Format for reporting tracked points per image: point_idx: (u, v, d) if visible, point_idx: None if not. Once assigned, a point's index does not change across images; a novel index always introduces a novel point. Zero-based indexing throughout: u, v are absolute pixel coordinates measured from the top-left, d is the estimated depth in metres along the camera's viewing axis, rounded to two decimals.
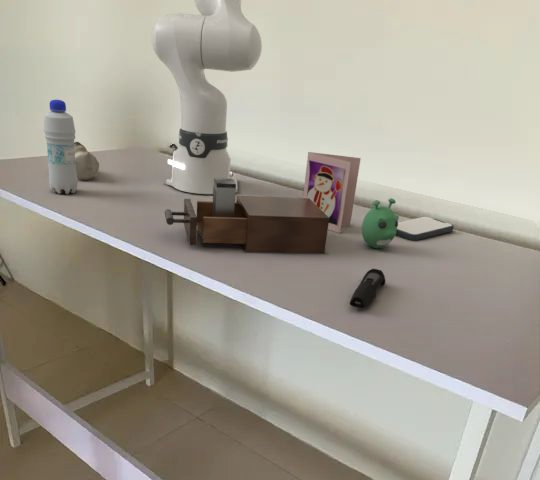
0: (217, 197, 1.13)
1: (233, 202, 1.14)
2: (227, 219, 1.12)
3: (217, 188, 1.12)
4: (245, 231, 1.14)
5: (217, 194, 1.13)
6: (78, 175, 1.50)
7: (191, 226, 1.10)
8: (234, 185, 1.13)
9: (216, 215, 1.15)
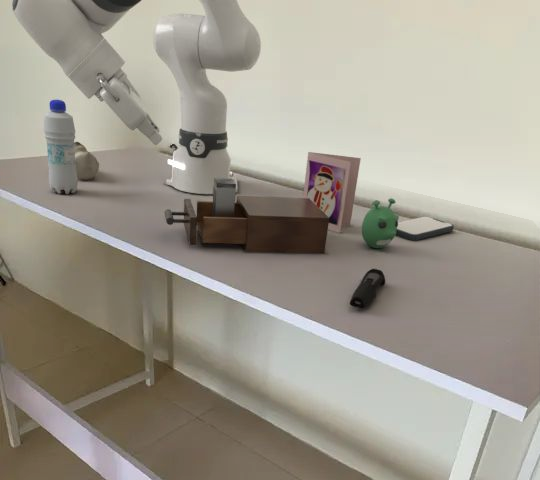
0: (217, 197, 1.13)
1: (233, 202, 1.14)
2: (227, 219, 1.12)
3: (217, 188, 1.12)
4: (245, 231, 1.14)
5: (217, 194, 1.13)
6: (78, 175, 1.50)
7: (191, 226, 1.10)
8: (234, 185, 1.13)
9: (216, 215, 1.15)
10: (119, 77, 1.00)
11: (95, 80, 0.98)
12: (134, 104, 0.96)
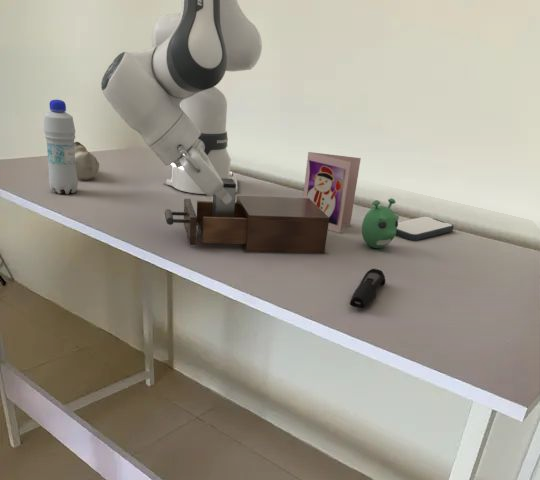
0: (217, 197, 1.13)
1: (233, 202, 1.14)
2: (227, 219, 1.12)
3: None
4: (245, 231, 1.14)
5: None
6: (78, 175, 1.50)
7: (191, 226, 1.10)
8: (234, 185, 1.13)
9: (216, 215, 1.15)
10: (196, 146, 1.08)
11: (175, 151, 1.06)
12: (213, 174, 1.04)
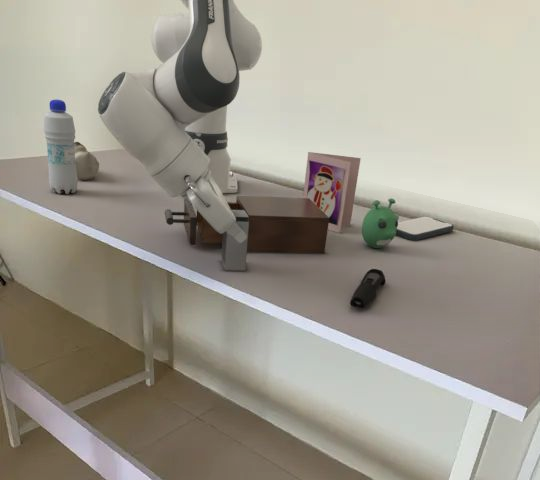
0: None
1: None
2: None
3: None
4: None
5: None
6: (78, 175, 1.50)
7: (191, 226, 1.10)
8: (247, 218, 1.01)
9: (227, 251, 1.03)
10: (205, 176, 0.96)
11: (182, 182, 0.94)
12: (225, 209, 0.92)
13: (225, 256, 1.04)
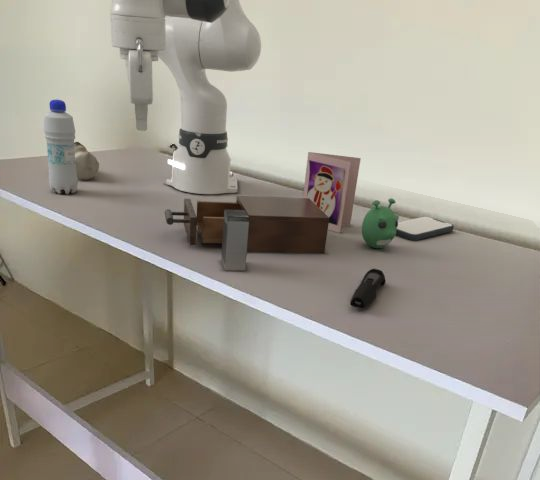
0: (228, 232, 1.01)
1: (246, 237, 1.02)
2: None
3: (228, 222, 1.01)
4: None
5: (228, 228, 1.01)
6: (78, 175, 1.50)
7: (191, 226, 1.10)
8: (247, 218, 1.01)
9: (227, 251, 1.03)
10: (152, 55, 0.99)
11: (132, 39, 0.96)
12: (150, 86, 0.95)
13: (225, 256, 1.04)
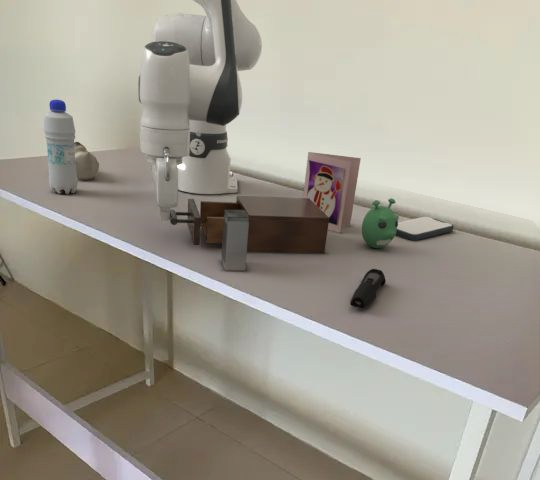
0: (228, 232, 1.01)
1: (246, 237, 1.02)
2: None
3: (228, 222, 1.01)
4: None
5: (228, 228, 1.01)
6: (78, 175, 1.50)
7: (195, 226, 1.11)
8: (247, 218, 1.01)
9: (227, 251, 1.03)
10: (177, 161, 1.09)
11: (160, 149, 1.05)
12: (176, 192, 1.04)
13: (225, 256, 1.04)
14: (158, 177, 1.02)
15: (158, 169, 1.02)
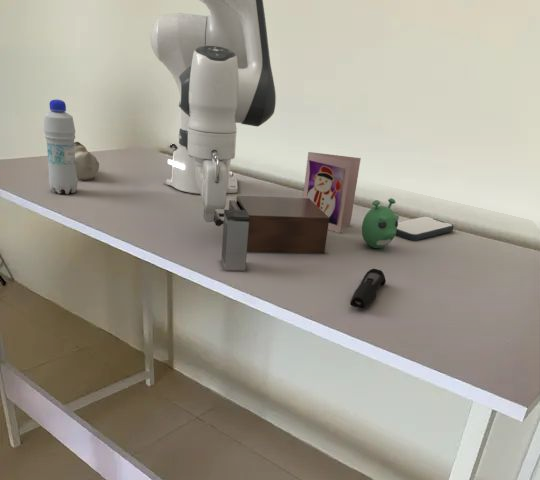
0: (228, 232, 1.01)
1: (246, 237, 1.02)
2: None
3: (228, 222, 1.01)
4: None
5: (228, 228, 1.01)
6: (78, 175, 1.50)
7: None
8: (247, 218, 1.01)
9: (227, 251, 1.03)
10: (223, 163, 1.10)
11: (208, 151, 1.07)
12: (224, 195, 1.06)
13: (225, 256, 1.04)
14: (207, 179, 1.04)
15: (208, 172, 1.04)
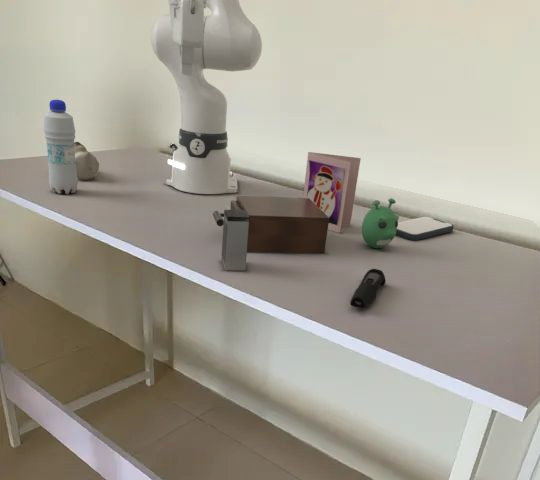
0: (228, 232, 1.01)
1: (246, 237, 1.02)
2: None
3: (228, 222, 1.01)
4: None
5: (228, 228, 1.01)
6: (78, 175, 1.50)
7: None
8: (247, 218, 1.01)
9: (227, 251, 1.03)
10: None
11: None
12: (201, 28, 0.95)
13: (225, 256, 1.04)
14: (182, 9, 0.93)
15: (182, 0, 0.93)
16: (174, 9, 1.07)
